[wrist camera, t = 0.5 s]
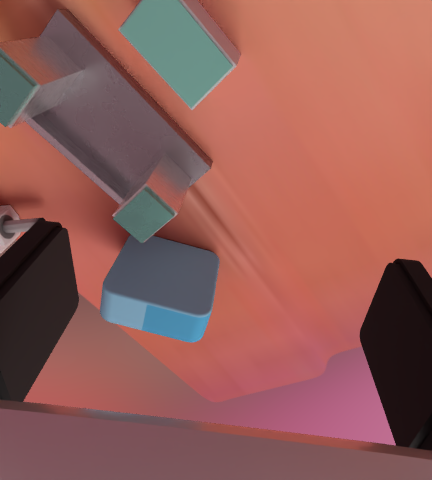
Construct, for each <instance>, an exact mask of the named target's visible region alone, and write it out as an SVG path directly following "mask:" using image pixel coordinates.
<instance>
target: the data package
mask: <svg viewBox="0 0 432 480" xmlns="http://www.w3.org/2000/svg"><path fill="white" fill-rule="evenodd" d="M219 262H220V261H219V258H218V256H217V255H216V254H215V253H213V252H211V251H208V250H204V249H200V248H197V247H193V246H189V245H186V244H182V243H178V242H174V241H171V240H167V239H163V238H160V237H156V236H151V237H150V238H149V239H147V240H146V241H145V242H144V243H140V242H139V241H138V240H137V239H136V238H135V237H133V236H132V235H130V236H129V237H128V239H127V241H126V243H125V244H124V246H123V248H122V250H121V251H120V253H119V255H118V257H117V259H116V260H115V262H114V264H113V266H112V267H111V269H110V271H109V273H108V274H107V276H106V278H105V280H104V282H103V288H102V297H101V306H100V314H101V316H102V317H103V318H104V319H105V320H106V321H108V322H111V323H115V324H119V325H123V326H127V327H131V328H135V329H139V330H143V331H147V332H150V333H154V334H158V335H162V336H166V337H170V338H174V339H178V340H182V341H186V342H196V341H198V340H200V339H201V338H202V337H203V335H204V332H205V329H206V326H207V323H208V320H209V317H210V315H211V312H212V307H213V301H214V295H215V288H216V282H217V275H218V269H219Z"/></svg>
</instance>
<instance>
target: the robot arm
mask: <svg viewBox="0 0 432 480" xmlns="http://www.w3.org/2000/svg"><path fill="white" fill-rule="evenodd" d="M78 302H79V297H78V290H77V284H76V278H75V272H74V266H73V260H72V254H71V248H70V242H69V236H68V231H67V229H66V228H62V225H61V224H60V223H59V222H49V221H37V222H36V223H35V224H34V225H33V226H32V227H31V228H30V229H29V230H28V231H27V232H26V233H25V234H24V235H23V236H22V237H21V238H19V239H18V240H17V241H16V242H15V244H13V245H12V246H11V247H10V248H9V249H8V250H7V251H6V252H5V253H4V254H3V255H2V256H1V257H0V480H432V278H431V277H430V275H429V274H428V272H427V271H426V269H425V268H424V267H423V265H422V264H421V263H420V262H419V261H415V260H406V259H396V260H395V261H394V262H393V263H389V264H388V265H387V266H386V268H385V271H384V273H383V276H382V278H381V281H380V283H379V285H378V288H377V290H376V293H375V295H374V298H373V300H372V303H371V305H370V307H369V310H368V312H367V315H366V317H365V320H364V322H363V325H362V327H361V330H360V341H361V344H362V347H363V350H364V353H365V356H366V359H367V362H368V365H369V368H370V370H371V373H372V376H373V379H374V382H375V385H376V388H377V391H378V394H379V396H380V400H381V403H382V405H383V408H384V411H385V414H386V417H387V420H388V423H389V426H390V429H391V432H392V435H393V438H394V440H395V443H396V446H394V445H387V444H379V443H372V442H364V441H356V440H348V439H339V438H331V437H323V436H315V435H307V434H299V433H291V432H283V431H275V430H266V429H258V428H249V427H241V426H233V425H224V424H216V423H207V422H198V421H190V420H181V419H173V418H164V417H156V416H147V415H139V414H130V413H120V412H112V411H103V410H93V409H85V408H76V407H67V406H58V405H50V404H40V403H29V402H23V401H24V399H25V397H26V395H27V393H28V392H29V390H30V389H31V387H32V385H33V383H34V382H35V380H36V378H37V376H38V375H39V373H40V371H41V370H42V368H43V366H44V364H45V363H46V361H47V359H48V358H49V356H50V354H51V352H52V350H53V349H54V347H55V345H56V344H57V342H58V340H59V339H60V337H61V335H62V333H63V332H64V330H65V328H66V326H67V325H68V323H69V321H70V320H71V318H72V316H73V315H74V313H75V311H76V309H77V306H78Z"/></svg>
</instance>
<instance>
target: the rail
mask: <svg viewBox="0 0 432 480" xmlns="http://www.w3.org/2000/svg"><path fill="white" fill-rule="evenodd" d="M24 121H25V122H26V123H27V124H29V125H30V126H31V127H32V128H33V129H34V130H35V131H37V132H38V133H39V134H40V135H41V136H42V137H43V138H45V139H46V140H47V141H48V142H49V143H50V144H51V145H52V146H54V147H55V148H56V149H57V150H58V151H59V152H60V153H62V154H63V155H64V156H65V157H66V158H67V159H68V160H70V161H71V162H72V163H73V164H74V165H75V166H76V167H77V168H79V169H80V170H81V171H82V172H83V173H84V174H85V175H87V176H88V177H89V178H90V179H91V180H92V181H93V182H95V183H96V184H97V185H98V186H99V187H100V188H101V189H103V190H104V191H105V192H106V193H107V194H108V195H109V196H110V197H112V198H113V199H114V200H115V201H116V202H117V203H118V204H120V205H119V206H118V208H117V209H116V210H115V212H114V213H113V215H112V216H113V217H114V218H113V219H114V220H115V221H116V222H117V223H118V224H119V225H121V226H122V227H123V228H124V229H125V230H126V231H128V232H129V233H130V234H131V235H132V236H133V237H135V238H136V239H137V240H138V241H139V242H140V243H144V242H145V241H146V240H147V239H149V238H150V237H151V236H152V235H153V234H155V233H156V232H157V231H158V230H159V229H161V228H162V227H163V226H164V225H165V224H166V223H168V222H169V221H170V220H171V219H172V218H174V217H175V216H176V215H177V214H178V213H179V210H180V207H181V205H182V202H183V200H184V197H185V195H186V192H187V190H188V188H189V187H190V186H191V185H192V184H193V183H195V182H196V181H197V180H198V179H199V178H200V177H201V176H203V175H204V174H205V173H206V172H207V171H208V170H209V169H211V166H212V163H213V161H212V160H211V159H210V158H209V157H208V156H207V155H206V154H205V153H204V152H203V151H202V150H201V149H200V148H199V147H198V146H197V145H196V144H195V143H194V142H193V140H192V139H191V138H190V137H189V136H188V135H187V134H186V133H185V132H184V131H183V130H182V129H181V128H180V127H179V126H178V125H177V124H176V123H175V122H174V121H173V119H172V118H171V117H170V116H169V115H168V114H167V113H166V112H165V111H164V110H163V109H162V108H161V107H160V106H159V105H158V104H157V103H156V102H155V101H154V100H153V99H152V97H151V96H150V95H149V94H148V93H147V92H146V91H145V90H144V89H143V88H142V87H141V86H140V85H139V84H138V83H137V82H136V81H135V80H134V79H133V78H132V76H131V75H130V74H129V73H128V72H127V71H126V70H125V69H124V68H123V67H122V66H121V65H120V64H119V63H118V62H117V61H116V60H115V59H114V58H113V57H112V55H111V54H110V53H109V52H108V51H107V50H106V49H105V48H104V47H103V46H102V45H101V44H100V43H99V42H98V41H97V40H96V39H95V38H94V37H93V36H92V35H91V33H90V32H89V31H88V30H87V29H86V28H85V27H84V26H83V25H82V24H81V23H80V22H79V21H78V20H77V19H76V18H75V17H74V16H73V15H72V14H71V12H70V11H69V10H68V9H57V11H56V12H55V14H54V16H53V17H52V19H51V20H50V22H49V23H48V25H47V26H46V28H45V29H44V31H43V32H42V34H41V35H40V37H36V38H29V39H22V40H15V41H8V42H1V43H0V123H1V124H3V125H4V126H5V127H6V126H8V127H10V128H12V127H14V126H16V125H18V124H20V123H22V122H24Z"/></svg>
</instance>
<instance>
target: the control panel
mask: <svg viewBox="0 0 432 480" xmlns="http://www.w3.org/2000/svg"><path fill="white" fill-rule="evenodd" d="M37 221H45V219H44V218H34V219H22V220H20V219H19V216H18V214H17V213H16V212H15V211H14V209H13V208H12V207H11V205H5V206H0V254H1V253H2V252H3V251H4V250H5V249H6V248H7V247H8V246H9V245H10V244H11V243H12V242H13V241H14V240H15V239H16V238H17V237H18V236H19V235H20V232H25V231H28V230H29V229H30V228H31V227H32V226H33V225H34V224H35V223H36V222H37Z"/></svg>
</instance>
